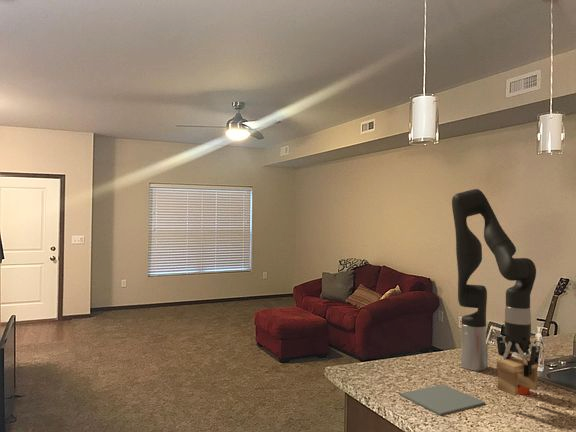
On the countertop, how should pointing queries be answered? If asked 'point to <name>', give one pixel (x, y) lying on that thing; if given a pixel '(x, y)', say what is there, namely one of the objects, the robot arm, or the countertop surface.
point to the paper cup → (521, 389)
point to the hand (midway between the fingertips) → (517, 373)
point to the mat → (442, 399)
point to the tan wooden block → (515, 375)
